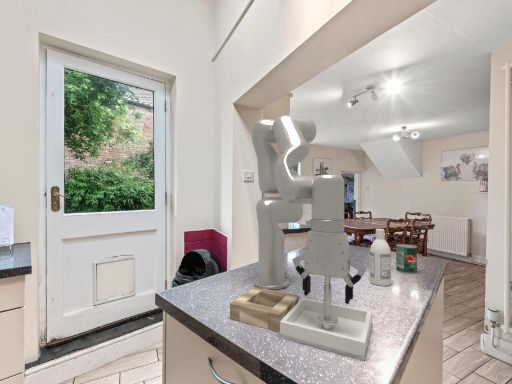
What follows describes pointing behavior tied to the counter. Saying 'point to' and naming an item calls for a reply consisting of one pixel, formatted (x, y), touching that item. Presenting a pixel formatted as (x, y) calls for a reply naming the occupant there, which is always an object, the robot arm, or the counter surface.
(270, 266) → the robot arm
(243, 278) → the counter surface
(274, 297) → the holder
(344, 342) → the tray
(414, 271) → the canned tomato
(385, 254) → the bath foam
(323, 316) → the screw
